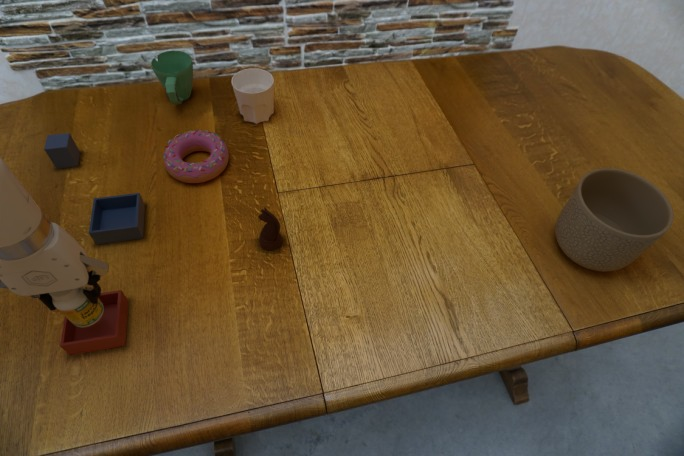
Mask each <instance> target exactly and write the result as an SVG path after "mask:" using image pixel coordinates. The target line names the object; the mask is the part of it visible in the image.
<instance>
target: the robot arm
mask: <svg viewBox="0 0 684 456" xmlns="http://www.w3.org/2000/svg"><path fill="white" fill-rule="evenodd" d="M109 268H110V263H108V262H107V261H102V260H100V259H97V258H93V257H90V256H89V255H88V253H87V252H86V251H85V249H84V248H83V246H82V245H81V244H80V243H79V242H78V241H77V240H76V239H75V238H74V237H73V236H72V235H71V234H70V233H69V232H68V231H67V230H65V229H64V228H63V227H62V226H60V225H59V224H58V223H57V222H51V221H50V220H49V218H48V217H47V215H46V214H45V213H44V211H43V210H42V209H41V208H40V207H39V205H38V204H37V203H36V201H35V200H34V198H33V197H32V196H31V194H30V193H29V192H28V191H27V189H26V188H25V187H24V185H23V184H22V183H21V182H20V180H19V179H18V178H17V176H16V175H15V174H14V172H13V171H12V169H11V168H10V167H9V166H8V164H7V163H6V162H5V160H4V159H3V158H2V157H1V156H0V288H1V289H6V290H9V291H11V292H12V293H13V294H15V295H17V296H22V297H28V296H30V298H32V299H38V300H39V301H41V302H42V304H44V305H45V306H46V307H47V308H48V309H49V310H50V311H56V310H58V309H57V308H56V307H55V306H54V305H53V302H52V296H51V295H50V294H49V293H51V292H58V291H64V290H70V289H76V288H79V287H81V288H83V293H84V295H85V296H86V297H87V298H88V299H89V301H90V302H91V303H93V304H97V302H98V296H100V295H101V293H102V287H101V286H100V284H99V283H98V282H99V281H100V280H101V278H102V277H105V275H106V274H107V273H109V270H110V269H109Z"/></svg>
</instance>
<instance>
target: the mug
mask: <svg viewBox="0 0 684 456" xmlns="http://www.w3.org/2000/svg"><path fill="white" fill-rule="evenodd" d="M150 66H151V69H152V71H153V73H154V75H155V77H156V78H157V80H158V81H159V84H160V85H161V86H162V87H163V89H164V90H165V94H166V96H167V99H168V101H169V102H170V103H171V104H172V105H181V104H182V103H183V102H184V101H186V100H189V98H190V97H191V95H192V89H193V84H194V83H193V82H194V63H193V58H192V56H191V55H190V54H189V53H187V52H185V51H183V50H182V51H181V50H174V49H173V50H167V51H163V52H160V53H159V54H157V58H155V57H153V58H152V59H151V62H150Z"/></svg>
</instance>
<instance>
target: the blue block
mask: <svg viewBox="0 0 684 456" xmlns="http://www.w3.org/2000/svg"><path fill="white" fill-rule="evenodd" d="M43 150H44V152H45V153H46V155H47V156H48V158H49V159H50V161H51V162H52V164H53V166H54V167H55V169H66V168H67V169H68V168H75V167H79V162H80V158H81V151H80V149H79V147H78V146H77V143H76V142H75V140H74V138H73V137H72V134H71V133H70V132H66V133H65V132H64V133H55V134H47V135H46V139H45V144H44V148H43Z"/></svg>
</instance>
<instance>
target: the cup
mask: <svg viewBox="0 0 684 456" xmlns="http://www.w3.org/2000/svg"><path fill="white" fill-rule="evenodd" d="M230 82H231V87H232V89H233V93H234V96H235V99H236V103H237V106H238V111H239V114H240V115H242V117H243V121H244V122H250V123H254V124H255V125H258V124H259V123H262V122H269V119H270V118H271V116H272V115H273V114H274V112H275V111H274V109H275V108H274V105H275V103H274V101H275V99H274V98H275V97H274V96H275V95H274V93H275V91H274V90H275V88H274V87H275V86H274V85H275V79H274V76H273V75H272V73H271V72H270V71H268V70H265V69H262V68H256V67H250V68H245V69H241V70H239V71H237V72H236V73H235V74H234V75H233V76H232V77H231V81H230Z"/></svg>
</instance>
